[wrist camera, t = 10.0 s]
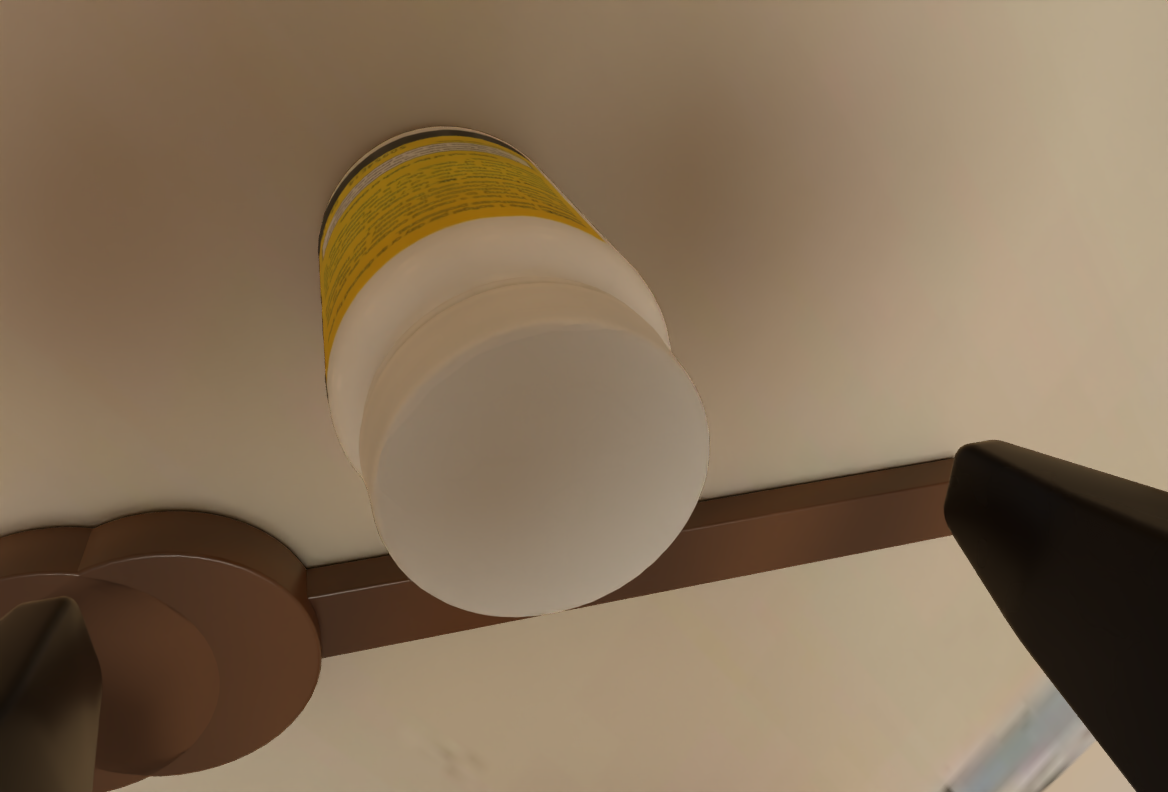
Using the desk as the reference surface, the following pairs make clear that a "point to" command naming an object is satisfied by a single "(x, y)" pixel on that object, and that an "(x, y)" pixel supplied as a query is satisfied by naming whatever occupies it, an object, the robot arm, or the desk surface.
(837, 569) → the desk surface
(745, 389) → the desk surface
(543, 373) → the supplement bottle
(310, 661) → the wooden spoon
